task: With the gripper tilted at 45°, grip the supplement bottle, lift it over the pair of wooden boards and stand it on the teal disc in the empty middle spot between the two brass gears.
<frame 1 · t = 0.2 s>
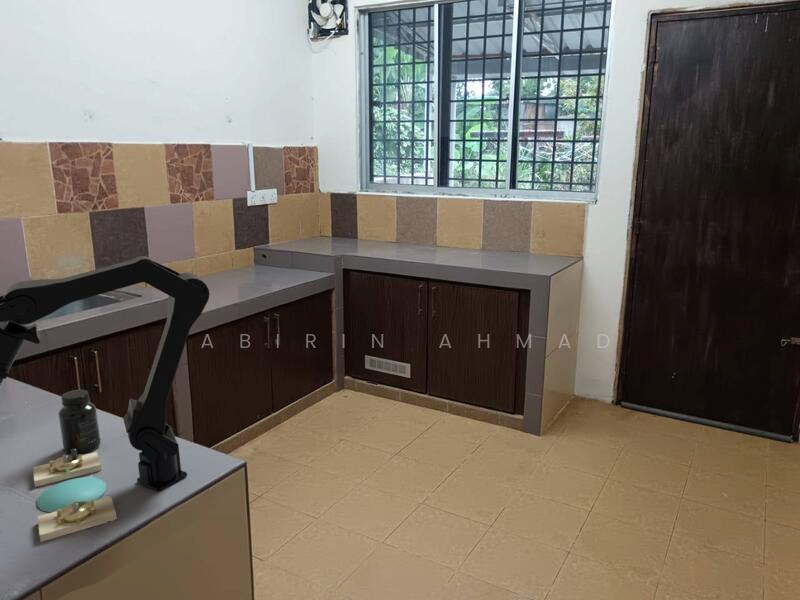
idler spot: (72, 494, 109), on the counter
pair of wooden boards: (72, 494, 109), on the counter
supplement bottle: (82, 448, 126), on the counter
brass gears: (70, 480, 108), on the pair of wooden boards, point 3 cm above the counter
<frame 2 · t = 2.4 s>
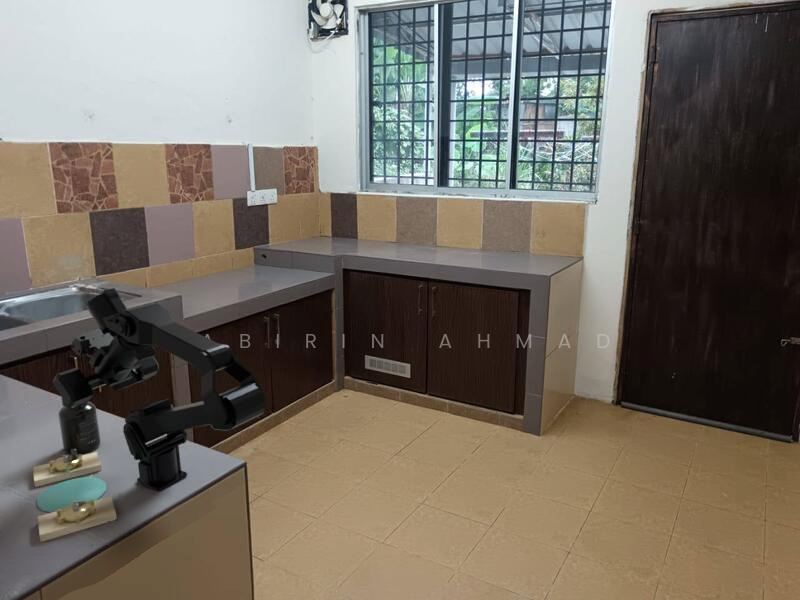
hand: (93, 397, 120), 12 cm above the counter, tool tilted 45°, fingers open, 9 cm apart
nothing on the counter moved.
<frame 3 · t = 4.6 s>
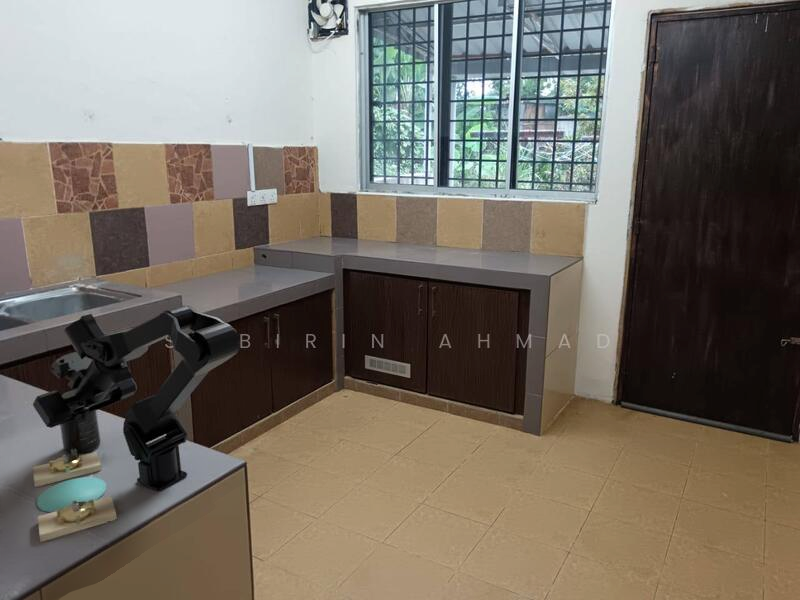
hand: (73, 416, 125), 7 cm above the counter, tool tilted 45°, fingers closed on supplement bottle, 7 cm apart
supplement bottle: (82, 448, 126), on the counter, touching gripper
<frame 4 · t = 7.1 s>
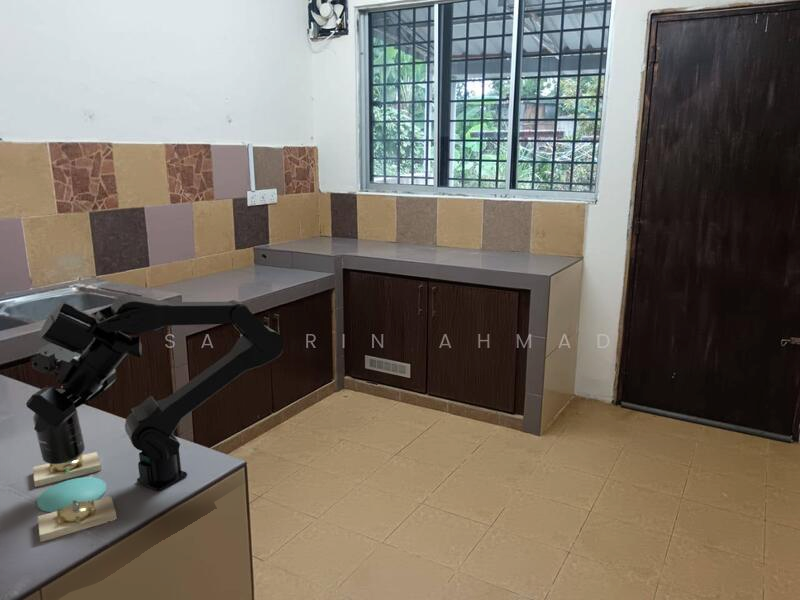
hand: (48, 421, 108), 13 cm above the counter, tool tilted 45°, fingers closed on supplement bottle, 7 cm apart
supplement bottle: (64, 456, 110), point 6 cm above the counter, touching gripper
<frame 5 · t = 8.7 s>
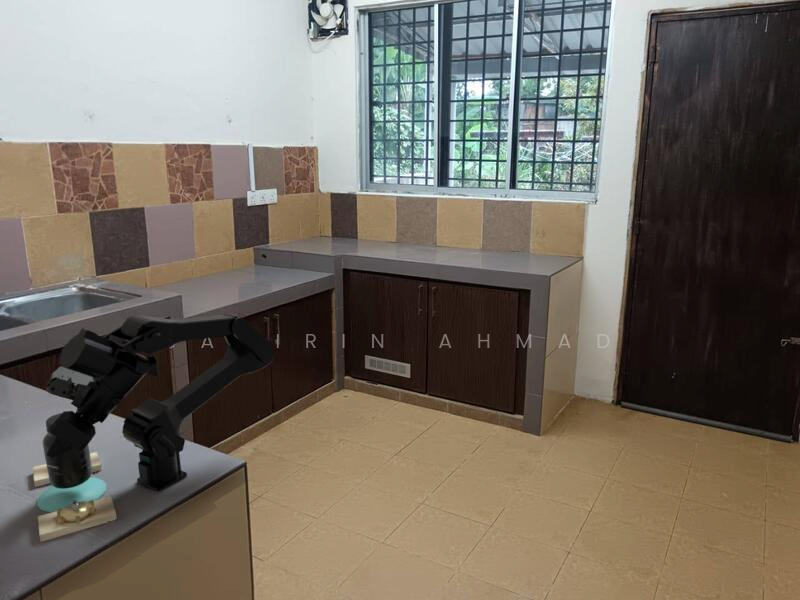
hand: (57, 446, 106), 10 cm above the counter, tool tilted 45°, fingers closed on supplement bottle, 6 cm apart
supplement bottle: (72, 479, 109), point 3 cm above the counter, touching gripper
when the fingers open (8 cm above the counter, at t = 9.9 s): supplement bottle stays where it is, resting on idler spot.
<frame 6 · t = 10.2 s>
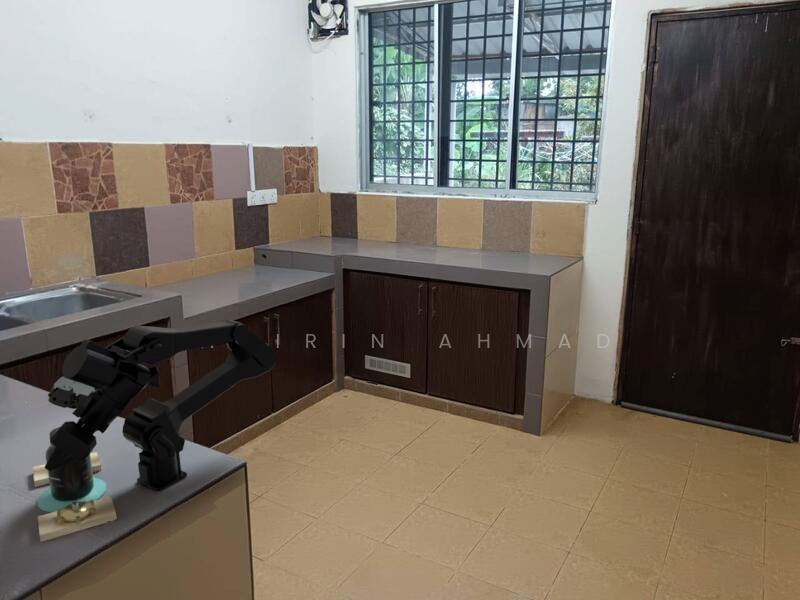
hand: (57, 455, 107), 8 cm above the counter, tool tilted 45°, fingers open, 9 cm apart
supplement bottle: (73, 492, 109), resting on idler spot
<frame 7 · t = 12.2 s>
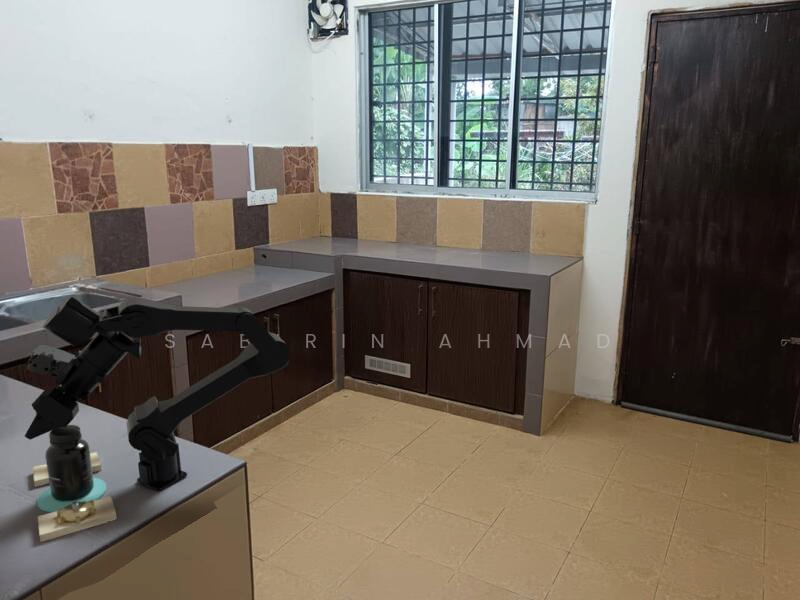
hand: (37, 425, 105), 14 cm above the counter, tool tilted 45°, fingers open, 9 cm apart
nothing on the counter moved.
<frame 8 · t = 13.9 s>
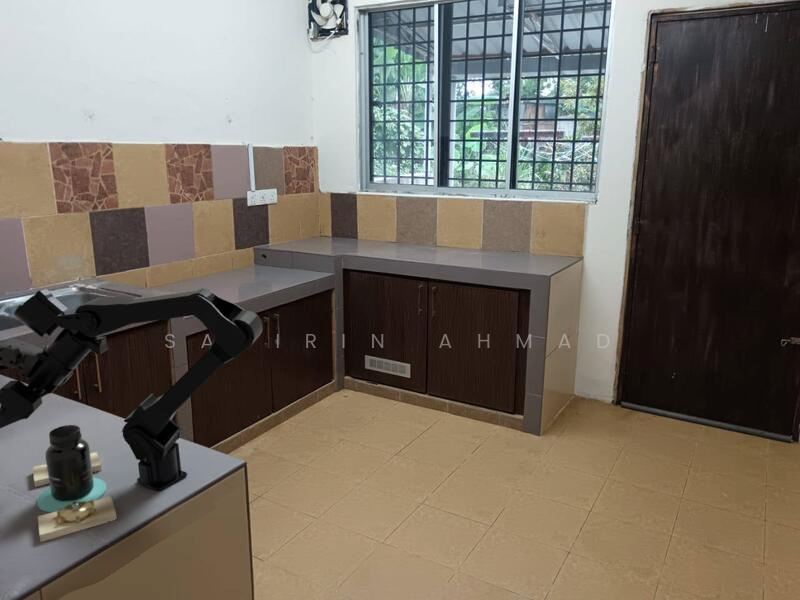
hand: (6, 416, 109), 14 cm above the counter, tool tilted 45°, fingers open, 9 cm apart
nothing on the counter moved.
at the end: supplement bottle 0.5 cm off-centre on the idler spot, point 0.0 cm above the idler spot's base; supplement bottle tilted 0°; the gripper is holding nothing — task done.
